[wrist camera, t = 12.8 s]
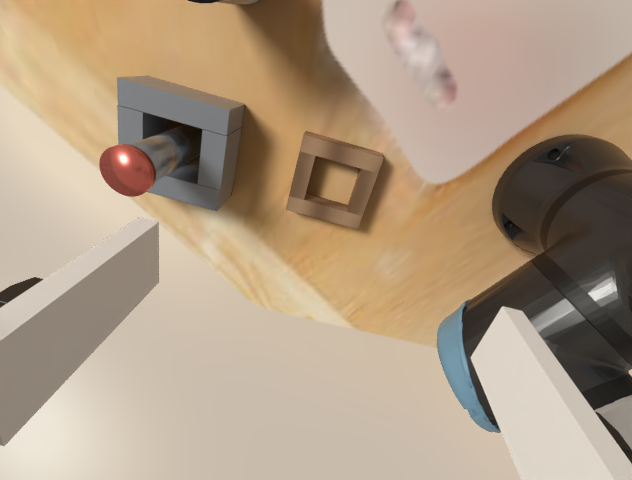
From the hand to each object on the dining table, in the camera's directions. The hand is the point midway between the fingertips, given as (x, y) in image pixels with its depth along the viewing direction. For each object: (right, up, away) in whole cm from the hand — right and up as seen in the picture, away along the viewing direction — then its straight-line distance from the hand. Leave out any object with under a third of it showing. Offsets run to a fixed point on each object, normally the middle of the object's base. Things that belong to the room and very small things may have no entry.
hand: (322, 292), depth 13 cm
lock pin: (-16, +15, +30) cm, 37 cm away
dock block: (-16, +15, +30) cm, 37 cm away
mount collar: (+2, +10, +31) cm, 33 cm away
